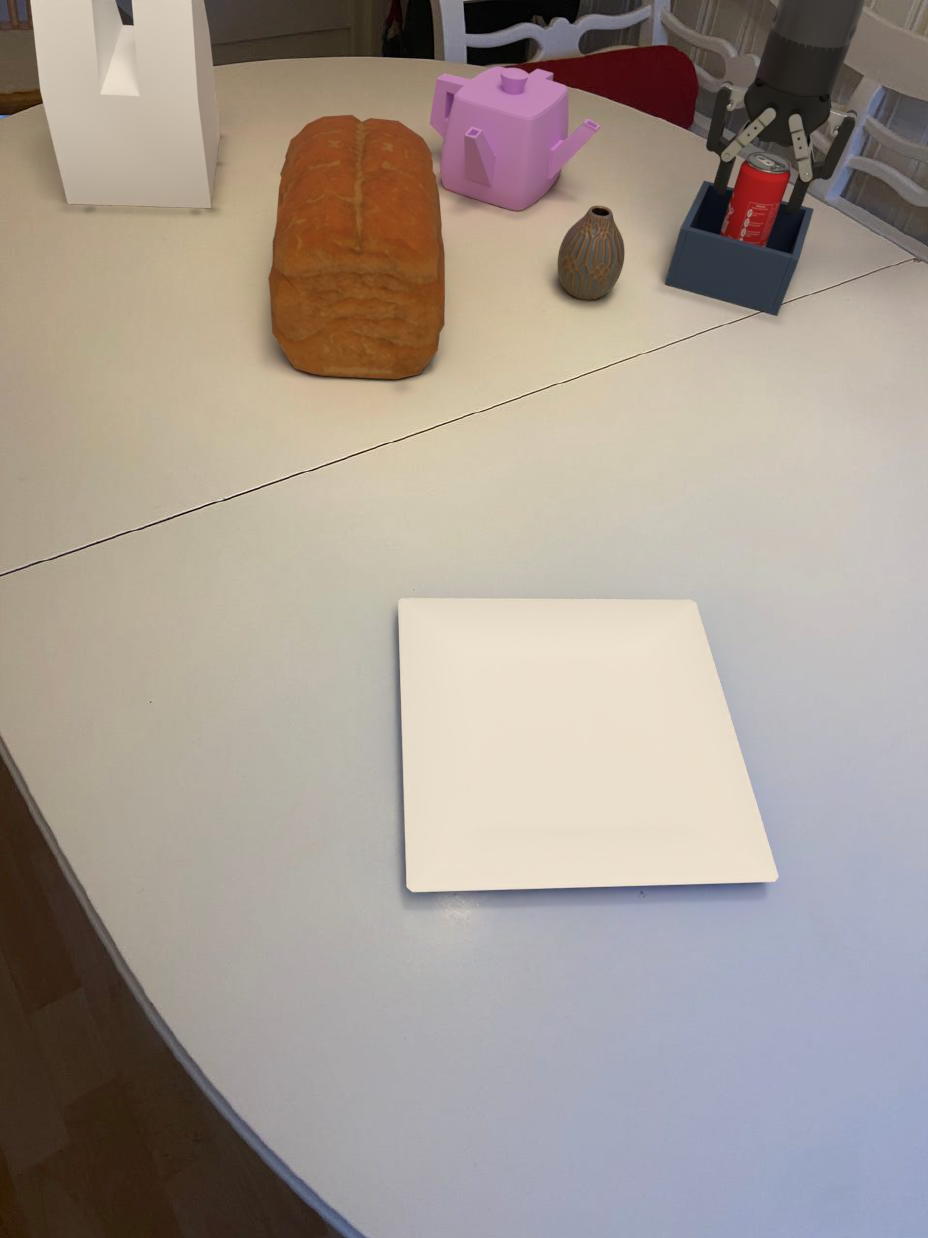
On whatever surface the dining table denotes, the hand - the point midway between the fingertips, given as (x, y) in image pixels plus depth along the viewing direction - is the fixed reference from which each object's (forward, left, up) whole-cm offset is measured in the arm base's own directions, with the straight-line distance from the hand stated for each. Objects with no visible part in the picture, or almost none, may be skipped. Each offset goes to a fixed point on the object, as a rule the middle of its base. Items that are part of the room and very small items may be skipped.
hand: (754, 202), depth 99 cm
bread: (+34, +26, -8) cm, 44 cm away
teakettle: (+30, -7, -8) cm, 32 cm away
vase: (+14, +12, -8) cm, 20 cm away
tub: (0, 0, -8) cm, 8 cm away
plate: (-1, +68, -8) cm, 69 cm away
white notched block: (+68, +12, -8) cm, 70 cm away
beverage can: (0, 0, -8) cm, 8 cm away
